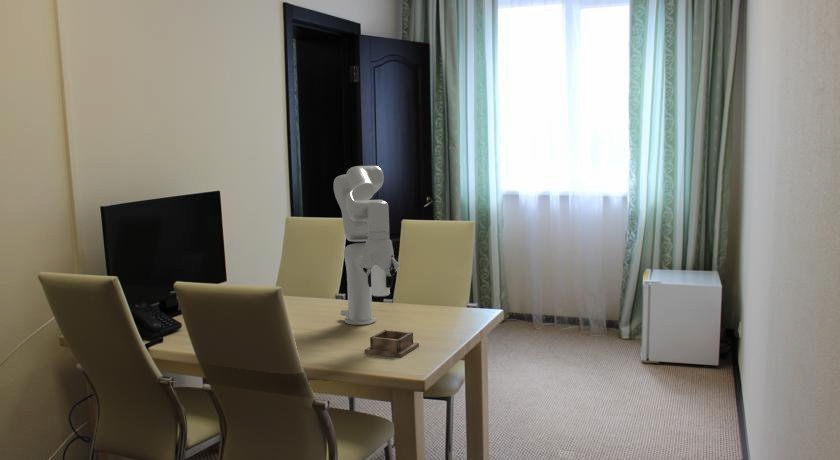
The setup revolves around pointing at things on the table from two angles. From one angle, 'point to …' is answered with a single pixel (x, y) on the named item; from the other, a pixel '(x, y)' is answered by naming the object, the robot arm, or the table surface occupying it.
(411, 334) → the holder
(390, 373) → the table surface
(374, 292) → the can
